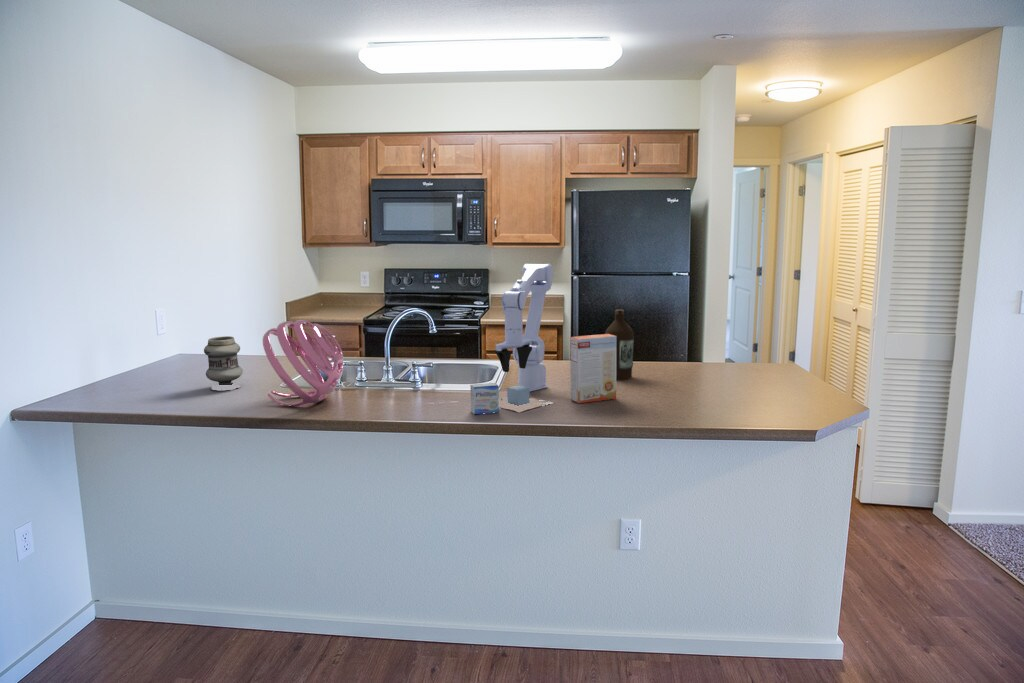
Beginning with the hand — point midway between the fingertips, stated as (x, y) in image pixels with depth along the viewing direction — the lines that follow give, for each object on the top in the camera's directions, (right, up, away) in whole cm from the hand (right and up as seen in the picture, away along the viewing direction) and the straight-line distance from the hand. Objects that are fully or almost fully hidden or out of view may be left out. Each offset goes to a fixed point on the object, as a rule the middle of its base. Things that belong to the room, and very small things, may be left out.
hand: (514, 369), depth 232 cm
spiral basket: (-67, -11, -1) cm, 68 cm away
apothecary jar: (-102, -8, +19) cm, 104 cm away
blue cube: (+1, -10, -5) cm, 12 cm away
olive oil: (+38, -4, +31) cm, 49 cm away
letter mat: (+1, -10, -5) cm, 12 cm away
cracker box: (+25, -10, -1) cm, 27 cm away
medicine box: (-9, -13, -15) cm, 22 cm away
